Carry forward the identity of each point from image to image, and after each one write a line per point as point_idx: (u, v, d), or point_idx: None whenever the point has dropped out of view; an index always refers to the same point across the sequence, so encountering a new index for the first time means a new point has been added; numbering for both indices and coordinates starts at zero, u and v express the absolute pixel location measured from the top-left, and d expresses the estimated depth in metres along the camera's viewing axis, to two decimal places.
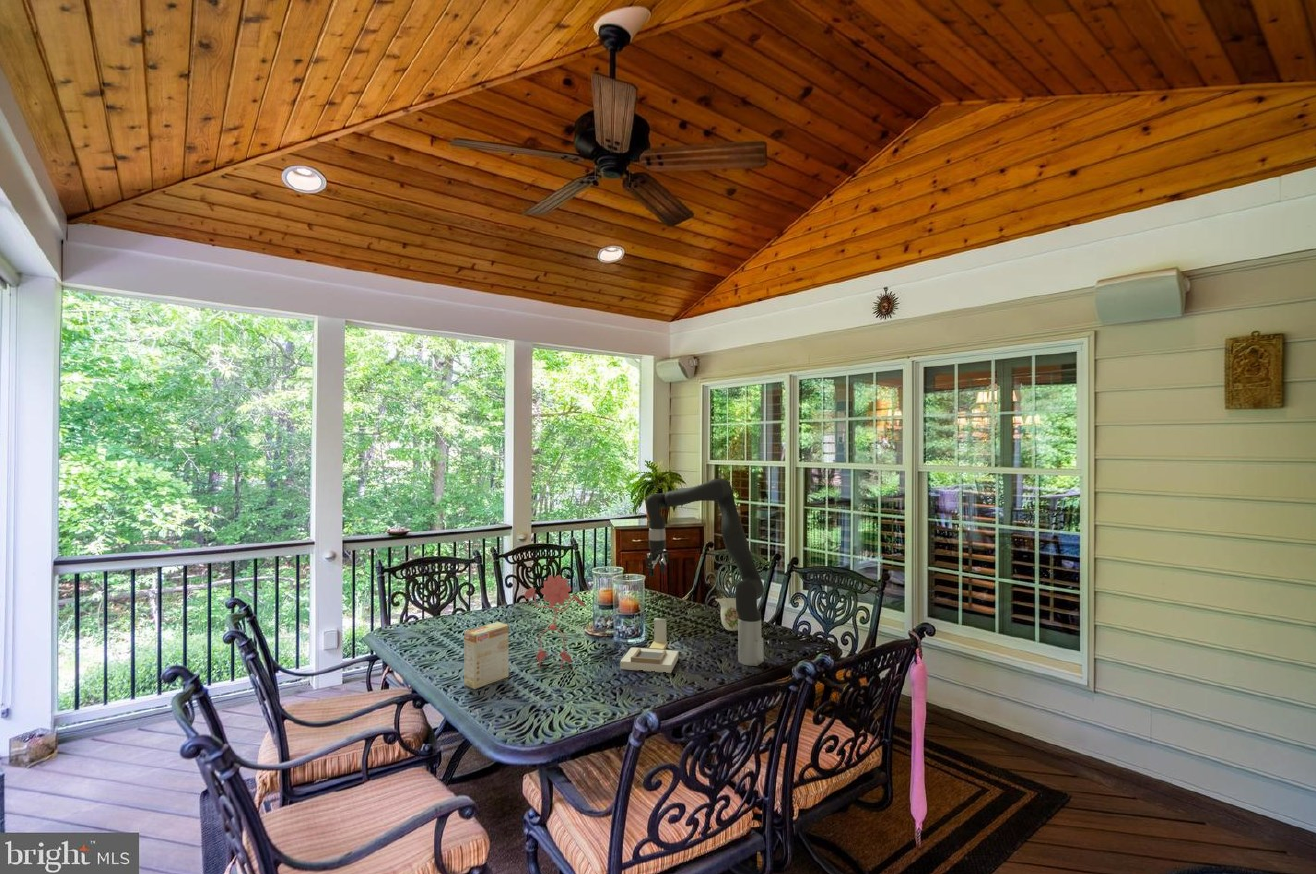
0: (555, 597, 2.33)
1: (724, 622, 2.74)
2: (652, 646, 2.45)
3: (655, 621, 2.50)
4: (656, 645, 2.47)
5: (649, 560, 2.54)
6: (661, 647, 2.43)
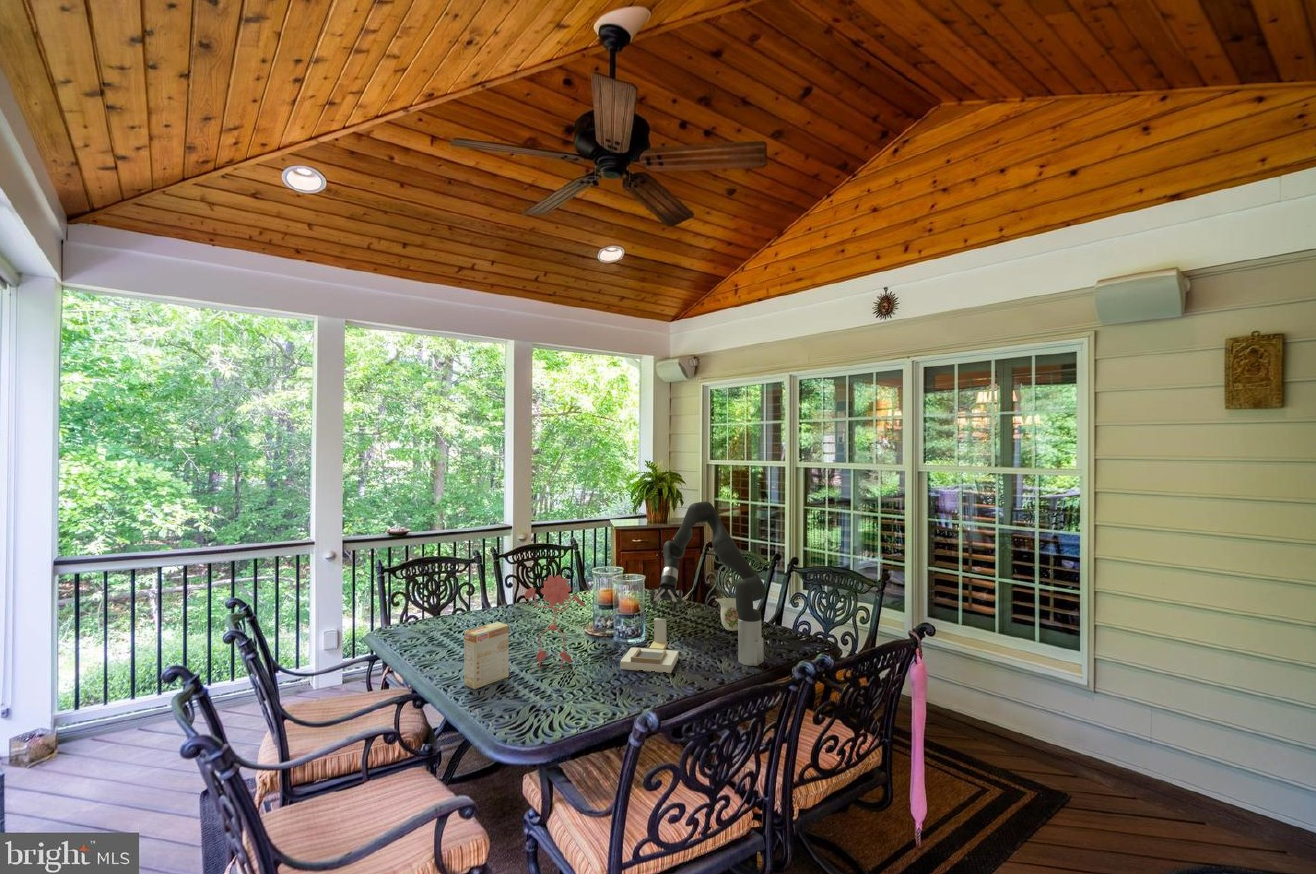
0: (555, 597, 2.33)
1: (724, 622, 2.74)
2: (652, 646, 2.45)
3: (655, 621, 2.50)
4: (656, 645, 2.47)
5: (651, 593, 2.65)
6: (661, 647, 2.43)
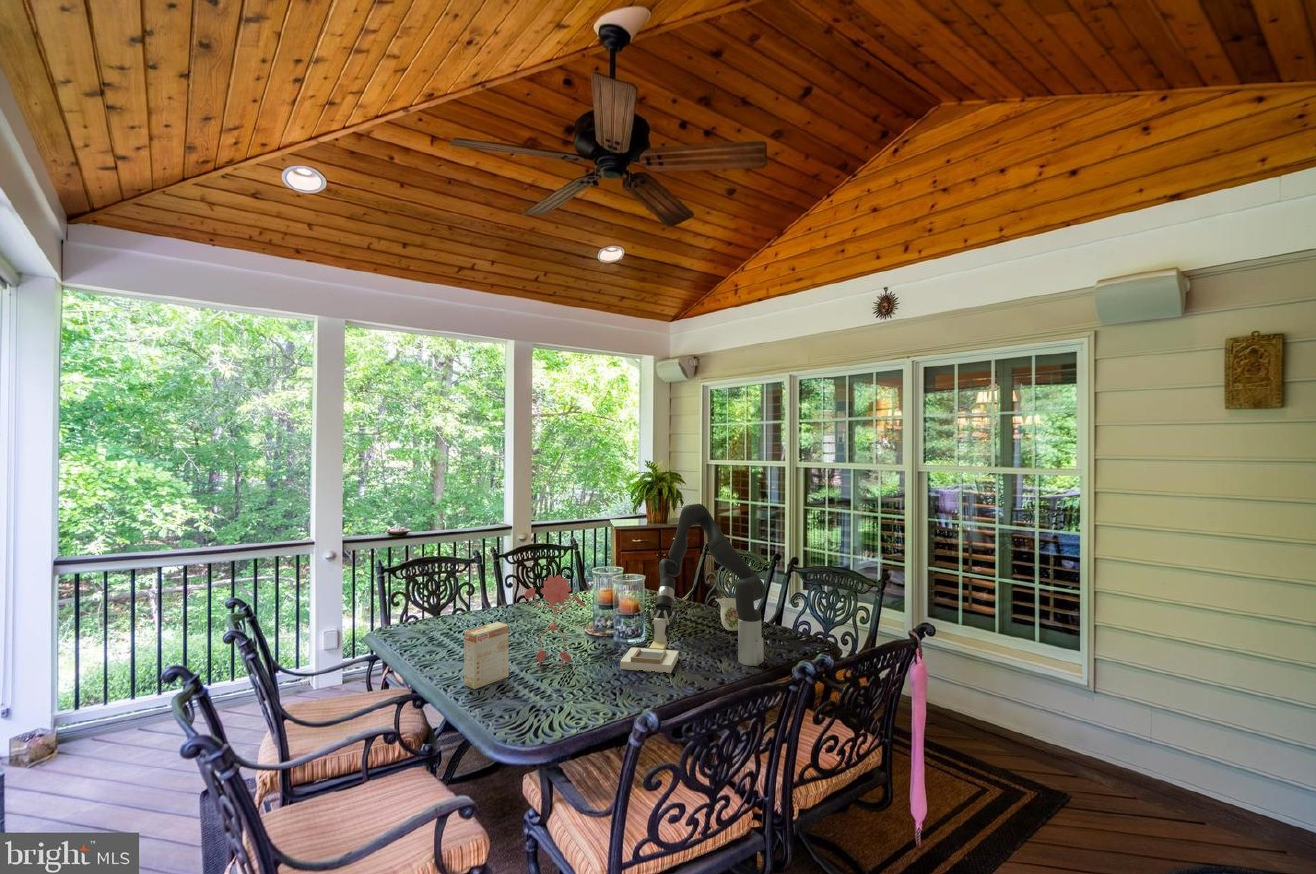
0: (555, 597, 2.33)
1: (724, 622, 2.74)
2: (652, 646, 2.45)
3: (655, 621, 2.50)
4: (656, 644, 2.46)
5: None
6: (661, 647, 2.43)
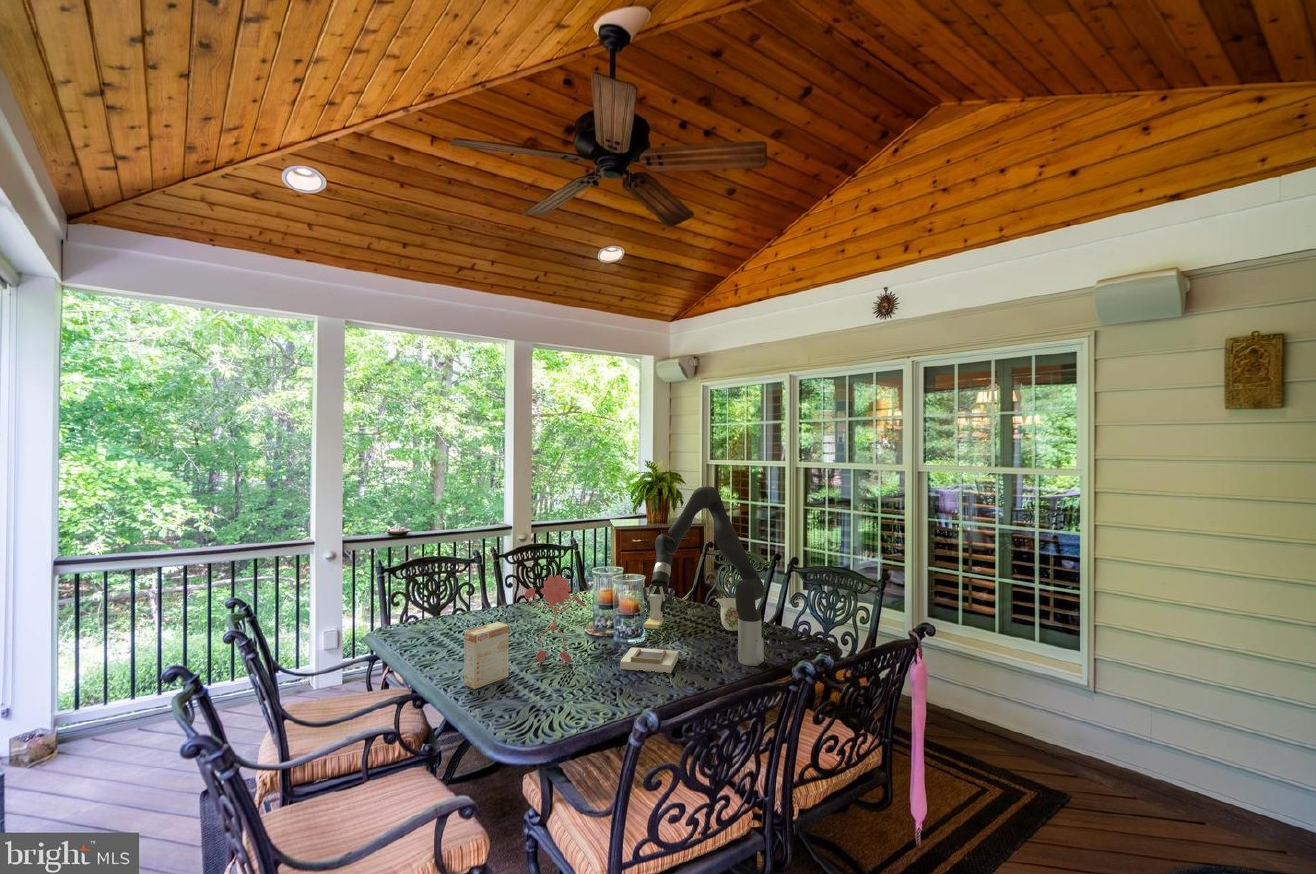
0: (555, 597, 2.33)
1: (724, 622, 2.74)
2: (647, 622, 2.37)
3: (650, 597, 2.42)
4: (652, 621, 2.38)
5: (643, 593, 2.47)
6: (656, 623, 2.35)
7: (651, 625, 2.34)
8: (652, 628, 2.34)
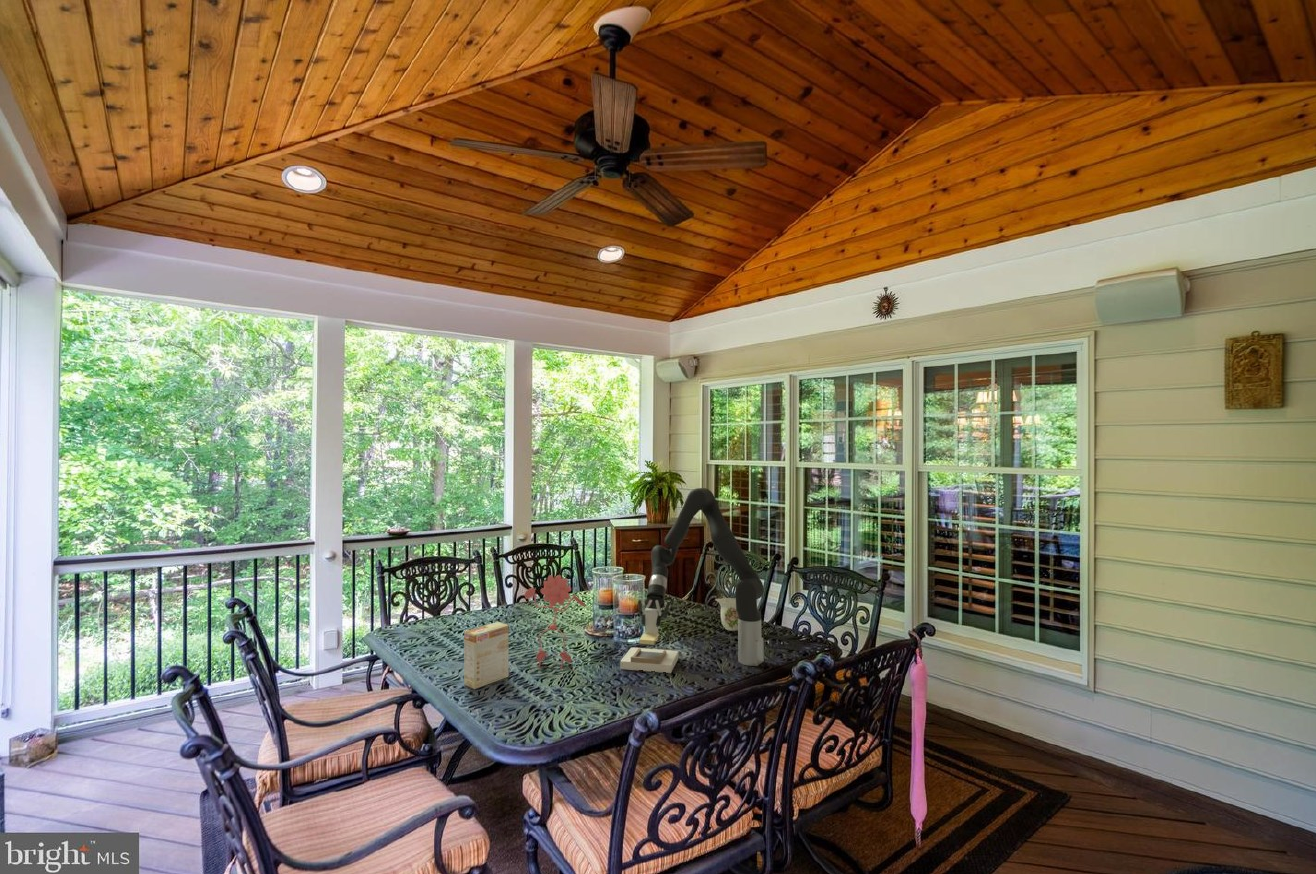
0: (555, 597, 2.33)
1: (724, 622, 2.74)
2: (642, 638, 2.29)
3: (646, 611, 2.35)
4: (647, 636, 2.31)
5: None
6: (652, 639, 2.28)
7: (646, 641, 2.27)
8: (647, 644, 2.27)
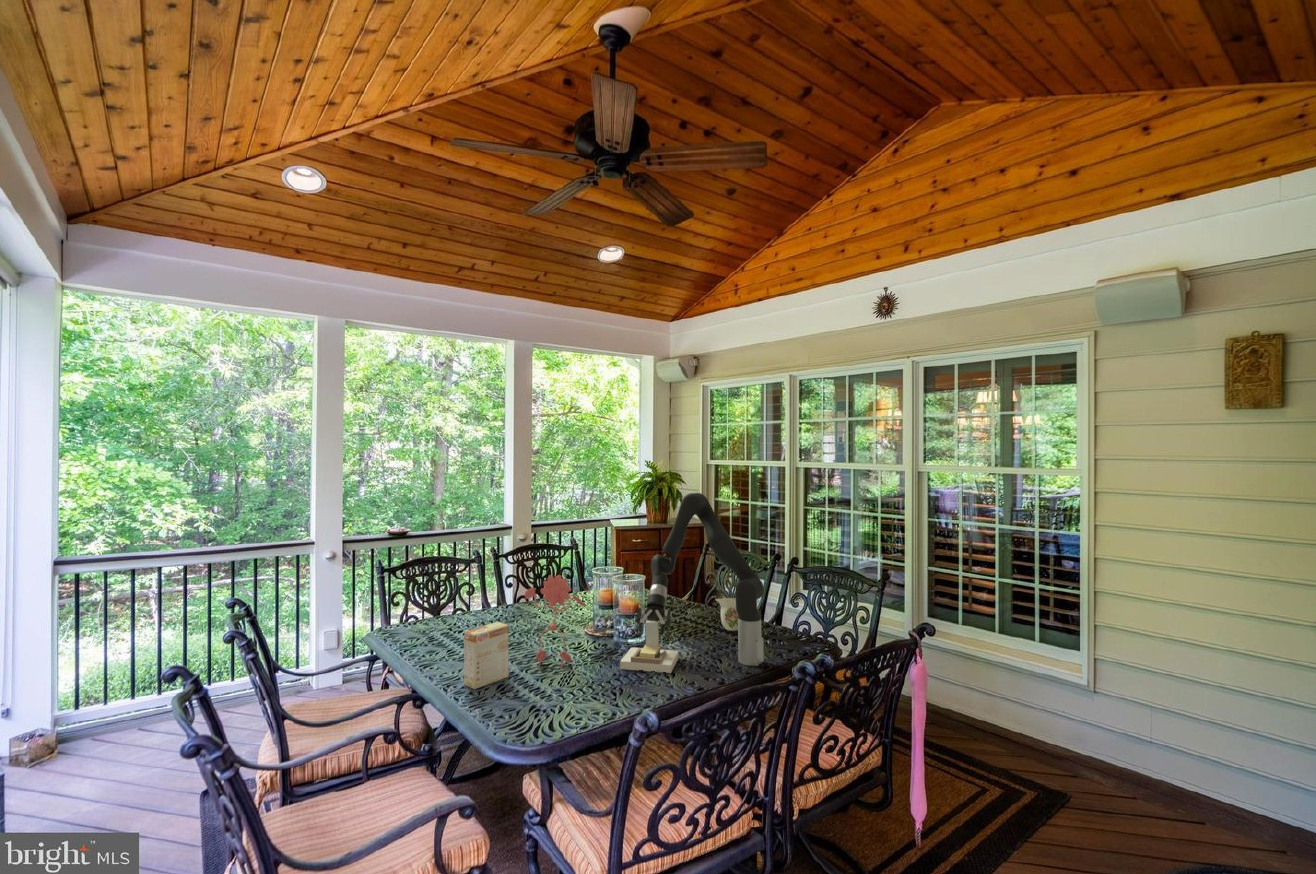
0: (555, 597, 2.33)
1: (724, 622, 2.74)
2: (643, 651, 2.29)
3: (647, 624, 2.35)
4: (648, 649, 2.31)
5: (637, 614, 2.40)
6: (653, 652, 2.28)
7: (647, 654, 2.27)
8: (648, 657, 2.27)
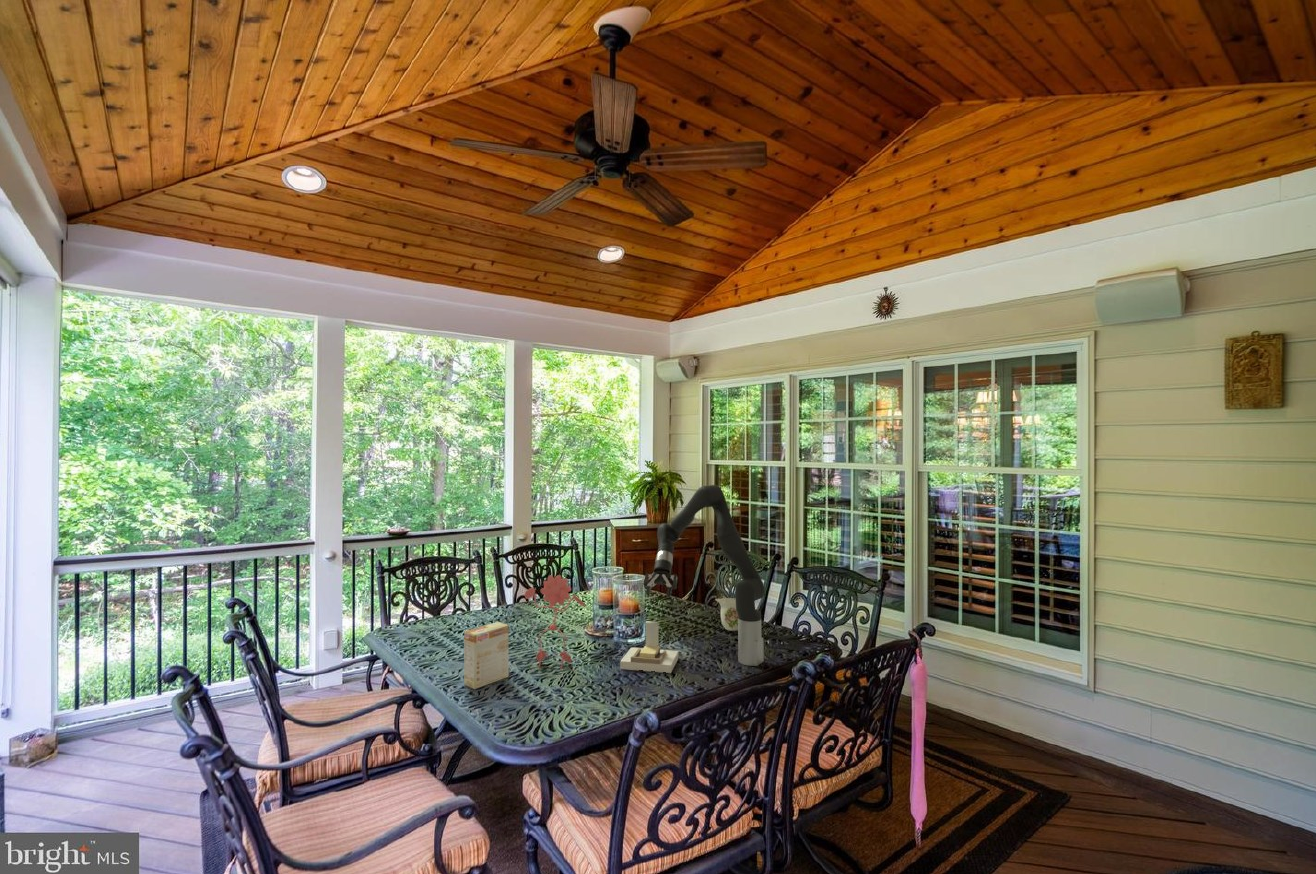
0: (555, 597, 2.33)
1: (724, 622, 2.74)
2: (643, 651, 2.29)
3: (646, 624, 2.35)
4: (647, 649, 2.31)
5: None
6: (652, 652, 2.28)
7: (647, 654, 2.27)
8: (648, 657, 2.27)
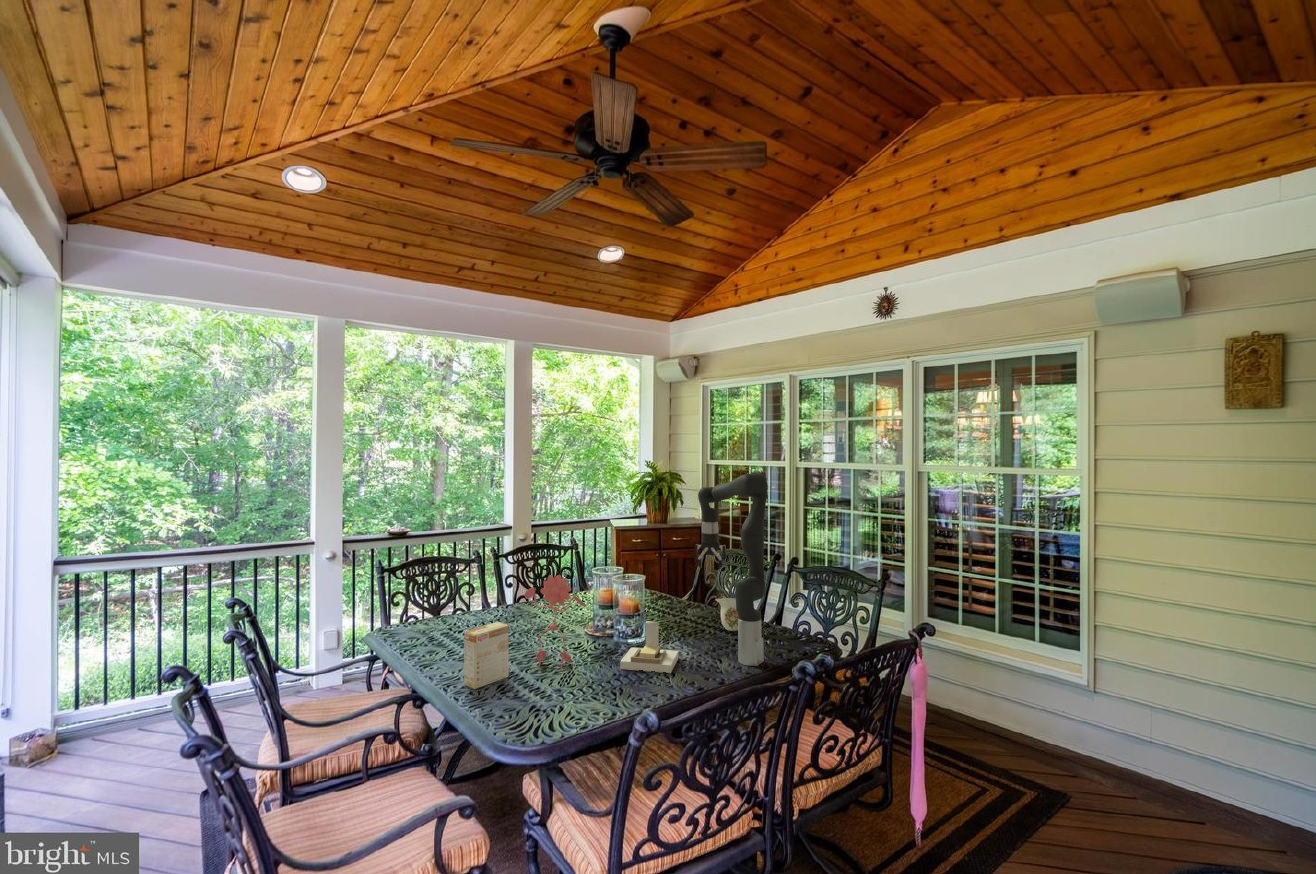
0: (555, 597, 2.33)
1: (724, 622, 2.74)
2: (643, 651, 2.29)
3: (646, 624, 2.35)
4: (647, 649, 2.31)
5: None
6: (652, 652, 2.28)
7: (647, 654, 2.27)
8: (648, 657, 2.27)
